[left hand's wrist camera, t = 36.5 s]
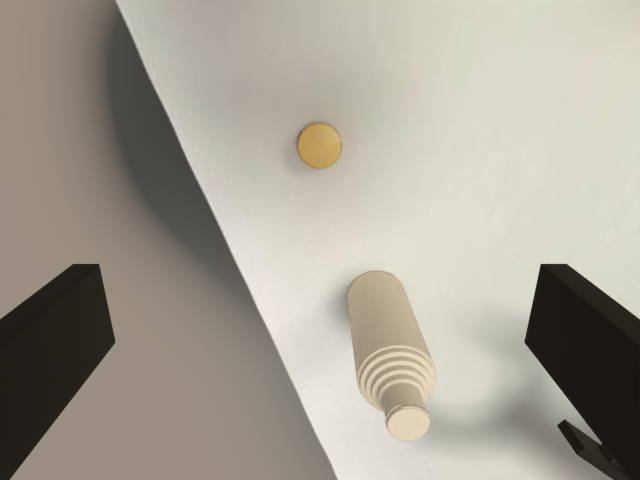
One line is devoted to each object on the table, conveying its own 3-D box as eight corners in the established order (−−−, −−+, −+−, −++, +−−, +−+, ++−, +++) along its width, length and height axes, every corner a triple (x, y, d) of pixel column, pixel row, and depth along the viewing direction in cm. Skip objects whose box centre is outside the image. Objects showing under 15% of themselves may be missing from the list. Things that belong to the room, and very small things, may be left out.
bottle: (409, 315, 51) (459, 450, 32) (353, 326, 51) (372, 466, 33) (399, 265, 48) (447, 380, 30) (341, 278, 49) (354, 398, 31)
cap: (317, 113, 42) (317, 114, 40) (349, 141, 43) (350, 144, 42) (290, 146, 43) (288, 148, 42) (321, 173, 44) (321, 177, 43)
